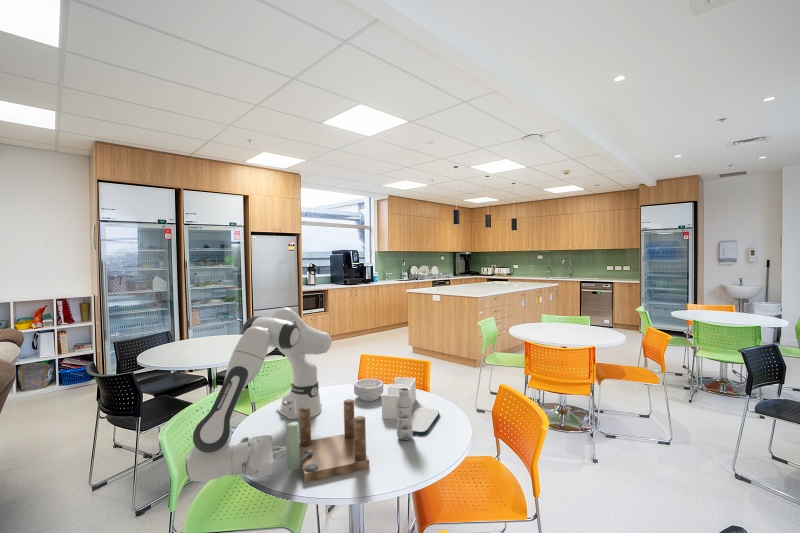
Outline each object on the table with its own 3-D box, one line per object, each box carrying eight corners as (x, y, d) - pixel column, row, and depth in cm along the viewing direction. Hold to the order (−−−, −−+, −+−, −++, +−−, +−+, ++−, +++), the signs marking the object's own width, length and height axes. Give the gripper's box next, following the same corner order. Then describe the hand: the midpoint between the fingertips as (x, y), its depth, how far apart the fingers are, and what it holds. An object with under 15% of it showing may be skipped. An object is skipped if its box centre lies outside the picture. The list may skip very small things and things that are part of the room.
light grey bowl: (389, 397, 196) (389, 382, 196) (367, 406, 185) (367, 390, 185) (370, 390, 207) (370, 376, 207) (348, 398, 196) (348, 383, 196)
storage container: (405, 420, 169) (405, 396, 169) (382, 418, 171) (381, 394, 171) (415, 399, 193) (415, 378, 193) (395, 397, 196) (394, 377, 195)
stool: (304, 482, 124) (303, 431, 123) (298, 450, 144) (297, 406, 144) (369, 468, 131) (368, 420, 131) (354, 439, 152) (353, 398, 151)
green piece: (306, 451, 137) (305, 411, 136) (315, 452, 135) (314, 413, 135) (285, 469, 125) (284, 426, 125) (295, 471, 124) (294, 428, 124)
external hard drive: (425, 437, 153) (425, 432, 153) (399, 433, 157) (399, 428, 157) (441, 414, 175) (441, 410, 175) (417, 411, 179) (417, 406, 179)
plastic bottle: (414, 442, 149) (413, 392, 148) (397, 442, 148) (396, 392, 148) (412, 434, 155) (411, 386, 155) (396, 435, 155) (395, 387, 154)
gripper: (240, 465, 112) (289, 456, 117) (243, 435, 131) (285, 428, 136) (241, 486, 112) (289, 476, 117) (244, 452, 132) (285, 445, 136)
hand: (287, 450), depth 127 cm, fingers closed
